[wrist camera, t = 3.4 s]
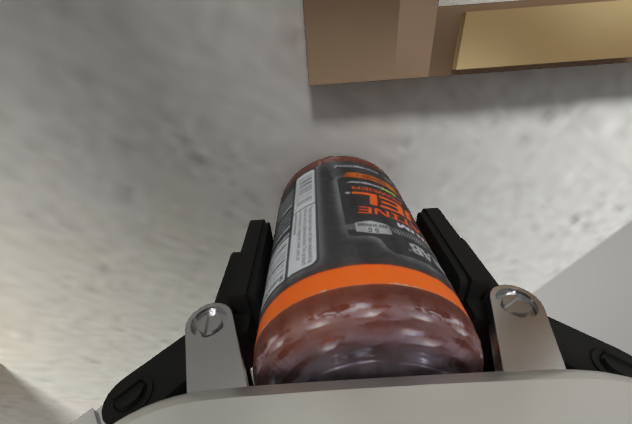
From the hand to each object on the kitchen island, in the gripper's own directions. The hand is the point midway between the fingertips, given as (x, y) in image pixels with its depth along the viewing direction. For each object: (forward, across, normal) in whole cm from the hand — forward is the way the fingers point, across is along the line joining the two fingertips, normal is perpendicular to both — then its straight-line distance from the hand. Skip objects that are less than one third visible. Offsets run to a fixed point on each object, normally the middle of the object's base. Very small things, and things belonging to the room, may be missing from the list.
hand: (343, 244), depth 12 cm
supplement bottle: (+3, 0, 0) cm, 3 cm away
